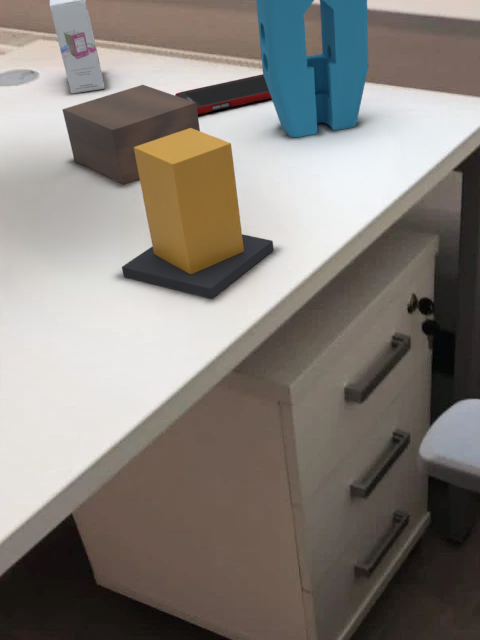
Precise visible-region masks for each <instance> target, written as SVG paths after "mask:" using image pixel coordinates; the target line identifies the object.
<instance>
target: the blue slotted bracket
mask: <svg viewBox="0 0 480 640" xmlns="http://www.w3.org/2000/svg"><path fill="white" fill-rule="evenodd" d="M314 1H315V0H255V3H256V13H257V24H258V35H259V46H260V47H259V48H260V57H261V66H262V74H263V75H264V78H265V81H266V84H267V87H268V90H269V92H270V95H271V98H270V99H271V101H272V103H273V107H274V110H275V112H276V115H277V117H278V121H279V123H280V126H281V128H282V129H283V131H284V132H285V133H286V135H288V136H289V137H291V138H300V137H306V136H307V137H308V136H312V135H317V134H318V124H326V125H328V126H329V127H330V128H331V129H332V130H333V131H340V130H345V129H346V130H347V129H351V128H355V127H356V126H357V124H358V123H357V122H358V118H359V113H360V108H361V104H362V101H363V100H362V99H363V94H364V90H365V86H366V81H367V75H368V72H369V71H368V70H369V66H370V65H369V23H368V22H369V19H368V0H319V10H320V13H319V14H320V30H321V31H320V32H321V47H322V48H321V49H322V53H318V54H311V55H308V54H307V40H306V25H305V24H306V23H305V14H306V13H307V11H308V10H309V8H311V5H312V4H313V3H314Z"/></svg>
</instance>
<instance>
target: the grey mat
mask: <svg viewBox="0 0 480 640" xmlns="http://www.w3.org/2000/svg"><path fill="white" fill-rule="evenodd" d="M242 239H243V247H244V252H242V253H240V254H238V255H235V256H233V257H231V258H228V259H226V260H224V261H221V262H219V263H217V264H215V265H212V266H210V267H208V268H205V269H203V270H201V271H198V272H196V273H194V274H191V275H190V274H188V273H187V272H185V271H183V270H181V269H180V268H178V267H176V266H174V265H172V264H171V263H169V262H167V261H165V260H164V259H162V258H160V257H158V256H156V255H155V254H154V251H153V246H152V245H151V247H149V248H147V249H146V250H144V251H143V252H142V253H140V254H139V255H137V256H135V257H134V258H133V259H131V260H130V261H128V262H127V263H125V264H124V265H122V266H121V270H122V276H123V277H125V278H128V279H132V280H136V281H142V282H145V283H147V284H151V285H157V286H160V287H164V288H169V289H173V290H177V291H180V292H185V293H187V294H188V293H189V294H191V295H192V294H193V295H195V296H196V295H197V296H201V297H204V298H208V299H213V298H215V297H216V296H218V295H219V294H220V293H221V292H223V291H224V290H225V289H226V288H228V287H229V286H230V285H231V284H233V283H234V282H235V281H236V280H238V279H239V278H240V277H242V276H243V275H244V274H245V273H247V272H248V271H249V270H251V269H252V268H253V267H254V266H255V265H257V264H258V263H260V262H261V261H262V260H263V259H265V258H266V257H267V256H268V255H270V254H271V253H272V252H273V251H274V250H275V249H274V241H273V240H272V239H266V238H262V237H257V236H252V235H248V234H244V233H242Z"/></svg>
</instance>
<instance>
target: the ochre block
mask: <svg viewBox="0 0 480 640" xmlns="http://www.w3.org/2000/svg"><path fill="white" fill-rule="evenodd" d="M134 152H135V157H136V162H137V167H138V173H139V178H140V179H139V183H140V187H141V193H142V198H143V204H144V209H145V214H146V219H147V225H148V230H149V236H150V241H151V247H152V246H153V251H154V254H155V255H156V256H158V257H160V258H162V259H164V260H165V261H167V262H169V263H171V264H172V265H174V266H176V267H178V268H180V269H181V270H183V271H185V272H187V273H188V274H190V275H191V274H194V273H196V272H198V271H201V270H203V269H205V268H208V267H210V266H212V265H215V264H217V263H219V262H221V261H224V260H226V259H228V258H231V257H233V256H235V255H238V254H240V253H242V252H244V247H243V239H242V234H243V232H242V224H241V216H240V208H239V207H240V206H239V199H238V190H237V181H236V176H235V175H236V174H235V166H234V165H235V164H234V157H233V150H232V142H229V141H226V140H223V139H221V138H218V137H216V136H213V135H210V134H208V133H205V132H203V131H201V130H200V131H198V130H195V129H192V128H189V129H186V130H183V131H180V132H177V133H174V134H171V135H168V136H165V137H162V138H159V139H156V140H153V141H150V142H147V143H144V144H142V145H139V146H136V147H134Z"/></svg>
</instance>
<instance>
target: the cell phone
mask: <svg viewBox="0 0 480 640" xmlns="http://www.w3.org/2000/svg"><path fill="white" fill-rule="evenodd" d="M174 95H175V96H178V97H181V98H183V99H186V100H189V101H192V102H195V103H196V106H197V113H198V115H200V114H206V113H211V112H215V111H217V110H218V111H219V110H223V109H228V108H232V107H237V106H242V105H247V104H250V103H255V102H260V101H264V100H268V99H272V98H271V95H270V92H269V90H268V87H267V84H266V81H265V78H264V75H263V73H262V74H257V75H251V76H249V77H244V78H240V79H239V78H238V79H235V80H229V81H225V82H221V83H216V84H212V85H211V84H210V85H207V86H202V87H198V88H197V87H196V88H192V89H188V90H184V91H180V92H177V93H175V94H174Z"/></svg>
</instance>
